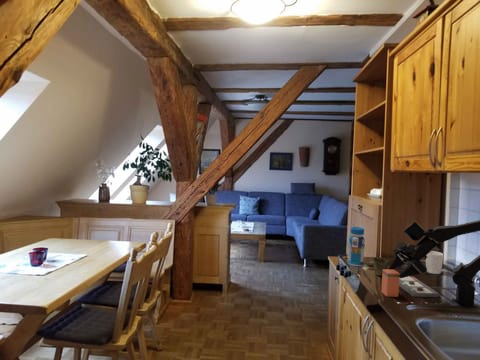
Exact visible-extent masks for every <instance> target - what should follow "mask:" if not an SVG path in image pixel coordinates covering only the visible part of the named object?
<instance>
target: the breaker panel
mask: <svg viewBox="0 0 480 360" xmlns="http://www.w3.org/2000/svg"><path fill="white" fill-rule="evenodd" d="M399 288H401V289H403V291H405V292H407V294H409V295H410V296H412V297H416V298H417V297H419V298H420V297H421V298H424V297H425V298H429V297H430V298H439V295H440V294H439V292H437V291H435V289H433V288H431V287H429V286H428V285H426V283H424V282H422V281H421V280H419V279H418V278H416V277H415V276H413V275H412V276H408V277H405V278H399Z"/></svg>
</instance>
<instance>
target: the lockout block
mask: <svg viewBox="0 0 480 360" xmlns="http://www.w3.org/2000/svg"><path fill="white" fill-rule="evenodd" d="M382 272H383V273H382V276H381V291H380V292H381V293H382V294H383V295H384V296H386V297H390V298H391V297H393V298H395V297H396V298H397V297H399V291H400V290H399V289H400V286H399V278H400V277H399V275H400V274H401V273H400V272H398V271H397V270H395V269H394V270H393V269H389V268H388V269H383V271H382Z"/></svg>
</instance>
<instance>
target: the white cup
mask: <svg viewBox="0 0 480 360" xmlns="http://www.w3.org/2000/svg"><path fill="white" fill-rule="evenodd" d="M426 256H427V258H426V259H425V267H426V268H427V272H426V273H430V274H434V275H440V274H441V273H442V268H443V261H444V253H442V252H440V251H435V250H434V251H433V250H432V251H431V252H430V253H428V254H427V255H426Z"/></svg>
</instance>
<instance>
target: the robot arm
mask: <svg viewBox="0 0 480 360" xmlns="http://www.w3.org/2000/svg"><path fill="white" fill-rule="evenodd" d="M402 232H403V233H404V234H405V235H406V236H407V237H408V238H409V239H411V241H413V242H414V241H415V242H417V243H416V244H411V243H409V242H408V243H404V242H403V241H400V240H399V241H398V242H397V244H396V246H395V249H394V250H393V251H392V252H393V260H392V261H391V263H390V265H389V266H388V269H393V270H395V269H397V268H398V267H400V266H405V264H406V263H407V268H406V269H405V270H402V271H401V273H400V275H399V277H400V278H405V277H408V276H412V277H413V276H417V275H421V274H422V275H425V274H426V273H428V272H427V268H426V265H424V263H423V262H422V260H423V259H425V260H426V258H427V256H426V255H427V254H428V253H430V252H431V251H433V250H435V249H436V250H437V251H441V250H442V243H444V242H447V241H449V240H452V239H454V238H455V237H456V238H457V237H458V236H463V235H467V234H471V233H472V234H473V233H476V232H480V220H474V221H470V222H465V223H462V224H457V225H437V226H436V227H434V228H429V229H425V228H423V227H422V226H421V225H420V224H419V223H418V222H417V221H416V220H415V221H413V222H412V223H411V224H408V225H407V226H406V227H405V228H404V229H403V230H402ZM478 272H480V255H477V257H475V258H474V259H472V261H470V262H468V263H466V264H464V263H463V262H462V261H461V262H460V263H459V264H458V265H457V266H455V267H453V271H452V273H451V274H452V282H453V283H454V284H455V285H456V289H455V298H452V299H451V300H452V301H453V302H455V303H456V304H457V305H459V306H460V307H463V308H465V307H466V308H478V305H477V304H476V303H475V297H476V292H475V291H476V286H475V282H474V281H473V279H474V278H475V277H476V275H477V274H478Z"/></svg>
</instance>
